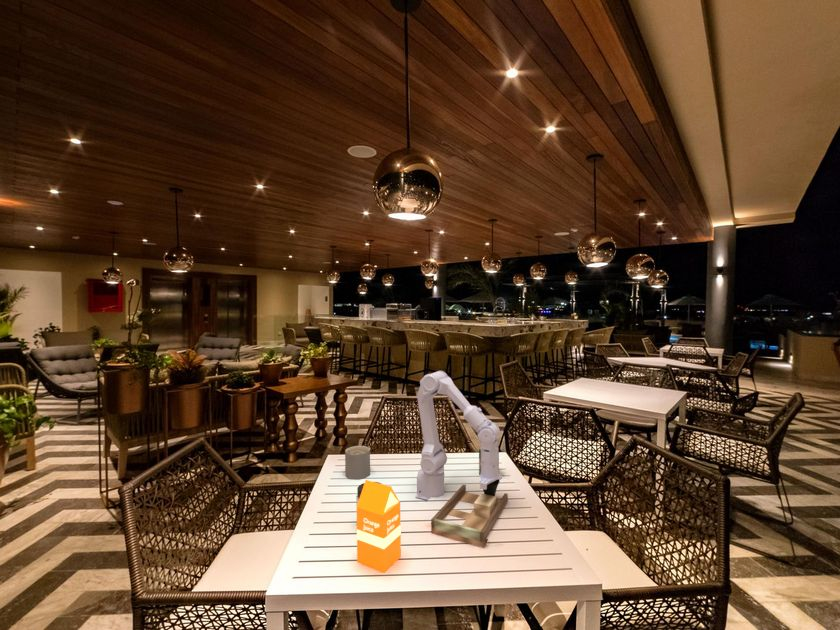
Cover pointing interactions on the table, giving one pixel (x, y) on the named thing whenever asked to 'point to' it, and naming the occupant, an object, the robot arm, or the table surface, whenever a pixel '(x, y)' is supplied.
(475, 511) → the maple block
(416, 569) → the table surface
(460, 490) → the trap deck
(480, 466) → the canned tomato
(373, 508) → the orange juice
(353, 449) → the coffee mug
